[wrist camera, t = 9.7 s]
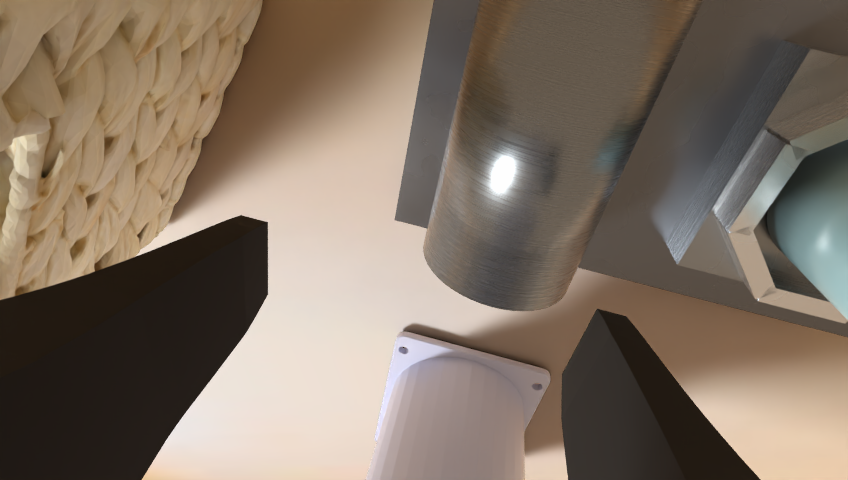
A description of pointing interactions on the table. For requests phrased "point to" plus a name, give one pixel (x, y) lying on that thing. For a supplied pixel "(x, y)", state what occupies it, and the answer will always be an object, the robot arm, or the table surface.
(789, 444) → the table surface
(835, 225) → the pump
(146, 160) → the storage basket
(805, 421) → the table surface
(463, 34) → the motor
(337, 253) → the table surface
